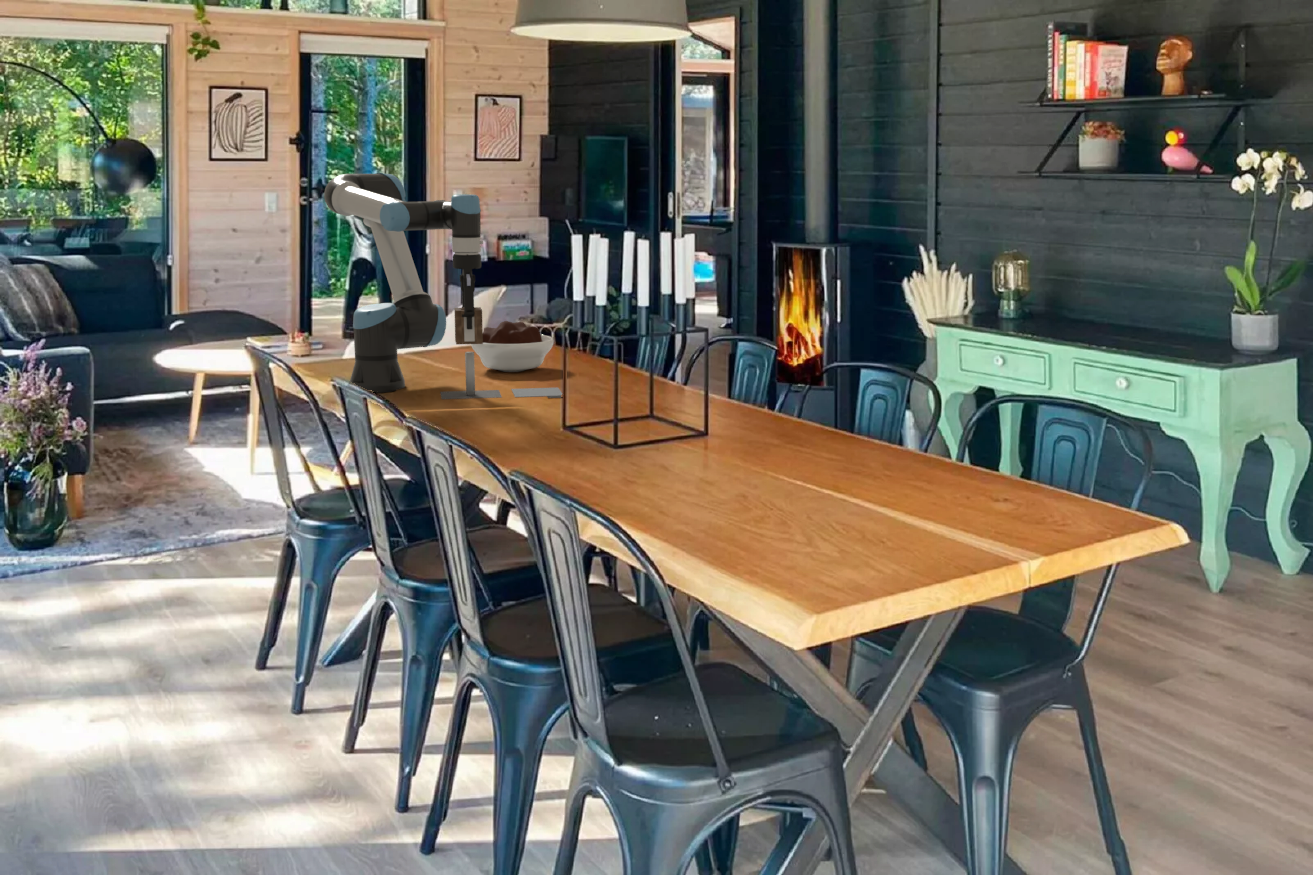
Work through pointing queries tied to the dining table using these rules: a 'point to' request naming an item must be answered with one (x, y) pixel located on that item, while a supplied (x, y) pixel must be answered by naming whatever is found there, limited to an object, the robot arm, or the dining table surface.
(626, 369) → the dining table surface
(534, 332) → the white ceramic bowl
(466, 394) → the post stand
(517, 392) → the slate mat
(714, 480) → the dining table surface
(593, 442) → the dining table surface
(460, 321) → the walnut collar
